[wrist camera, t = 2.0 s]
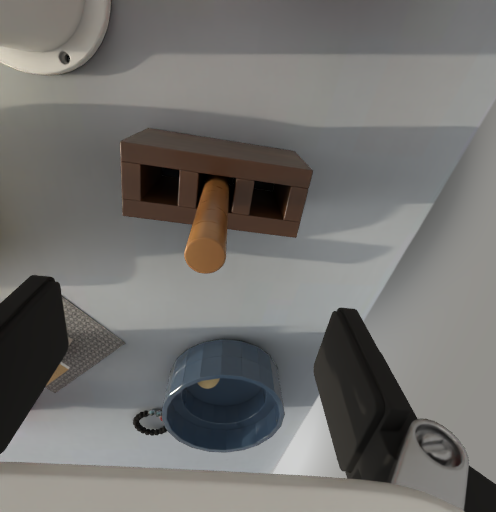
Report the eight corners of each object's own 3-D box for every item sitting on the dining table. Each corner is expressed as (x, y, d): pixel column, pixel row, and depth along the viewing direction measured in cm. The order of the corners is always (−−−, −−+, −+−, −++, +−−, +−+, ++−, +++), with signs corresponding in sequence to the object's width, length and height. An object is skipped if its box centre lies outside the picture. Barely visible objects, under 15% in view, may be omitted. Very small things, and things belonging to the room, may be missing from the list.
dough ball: (196, 373, 43) (193, 393, 40) (198, 356, 42) (195, 376, 39) (219, 374, 44) (218, 394, 41) (221, 358, 42) (221, 378, 39)
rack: (282, 205, 33) (296, 238, 26) (147, 186, 31) (122, 215, 24) (294, 151, 30) (313, 170, 23) (147, 127, 29) (119, 141, 22)
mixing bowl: (169, 405, 47) (160, 449, 42) (173, 330, 40) (163, 370, 35) (267, 412, 49) (271, 454, 43) (287, 340, 42) (296, 380, 36)
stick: (208, 177, 31) (182, 272, 15) (210, 157, 30) (185, 235, 14) (228, 180, 31) (223, 276, 16) (231, 160, 30) (228, 240, 15)
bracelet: (178, 423, 49) (177, 429, 48) (149, 435, 50) (148, 441, 50) (156, 403, 47) (154, 409, 46) (126, 416, 48) (124, 422, 47)
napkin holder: (82, 346, 41) (54, 395, 35) (50, 370, 43) (17, 421, 36) (60, 331, 40) (26, 379, 33) (27, 356, 42) (-11, 407, 35)
